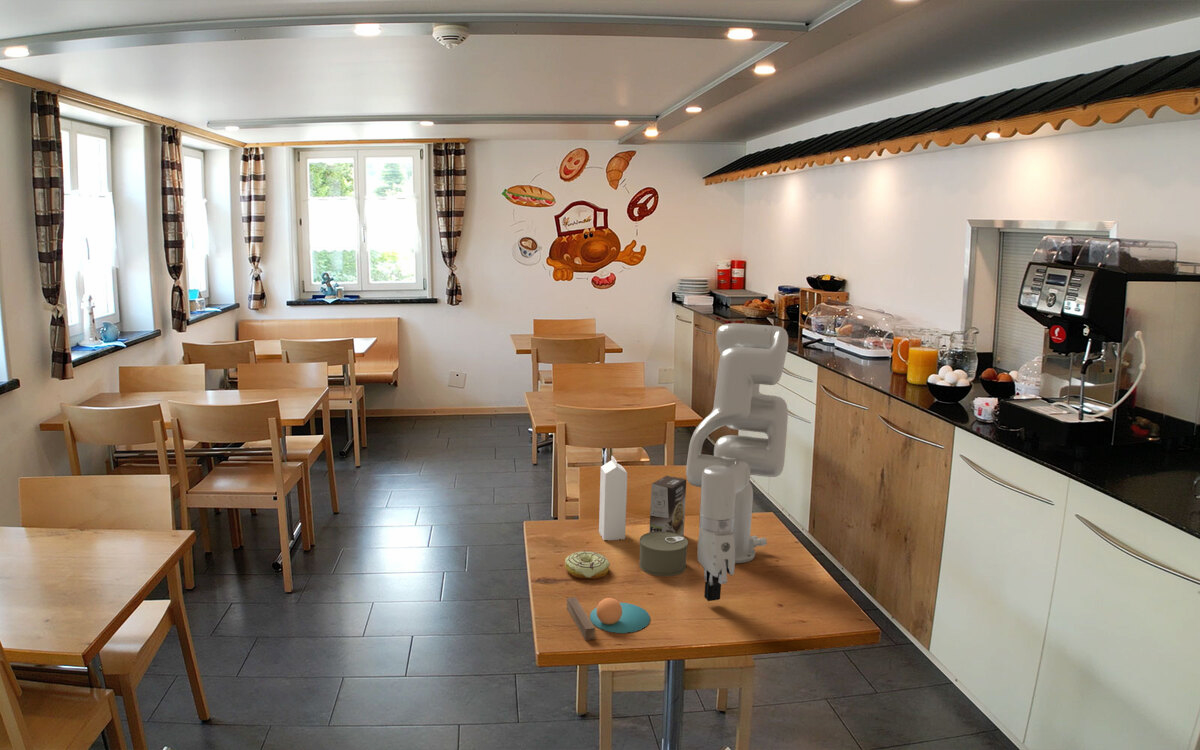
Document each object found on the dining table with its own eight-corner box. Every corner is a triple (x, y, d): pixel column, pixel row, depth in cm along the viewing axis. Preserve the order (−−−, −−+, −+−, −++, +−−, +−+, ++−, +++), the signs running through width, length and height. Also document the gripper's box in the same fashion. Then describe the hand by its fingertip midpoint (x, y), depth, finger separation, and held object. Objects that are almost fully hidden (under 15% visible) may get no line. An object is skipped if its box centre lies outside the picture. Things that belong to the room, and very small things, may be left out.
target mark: (637, 600, 183) (637, 599, 183) (659, 628, 171) (659, 627, 171) (582, 607, 179) (582, 606, 179) (600, 636, 167) (600, 635, 167)
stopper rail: (575, 607, 179) (575, 597, 179) (594, 639, 166) (595, 627, 166) (566, 608, 178) (566, 598, 178) (585, 640, 165) (585, 629, 165)
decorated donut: (592, 585, 190) (592, 571, 189) (556, 573, 196) (556, 559, 195) (616, 570, 199) (617, 556, 198) (581, 559, 205) (582, 545, 204)
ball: (587, 605, 173) (600, 622, 175) (598, 616, 168) (610, 634, 170) (607, 588, 174) (619, 606, 176) (618, 599, 169) (630, 617, 171)
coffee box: (669, 546, 213) (672, 488, 210) (648, 540, 217) (650, 483, 213) (684, 535, 221) (687, 478, 218) (663, 529, 224) (666, 474, 221)
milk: (619, 531, 223) (622, 454, 218) (625, 539, 217) (628, 461, 213) (598, 532, 221) (600, 455, 217) (603, 541, 215) (605, 461, 211)
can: (630, 560, 204) (631, 534, 203) (672, 553, 209) (673, 528, 208) (652, 580, 194) (653, 553, 192) (695, 572, 198) (697, 546, 197)
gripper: (748, 533, 172) (742, 612, 176) (716, 508, 186) (712, 582, 190) (716, 536, 170) (711, 616, 174) (687, 511, 184) (683, 586, 187)
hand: (712, 598), depth 182 cm, fingers closed
